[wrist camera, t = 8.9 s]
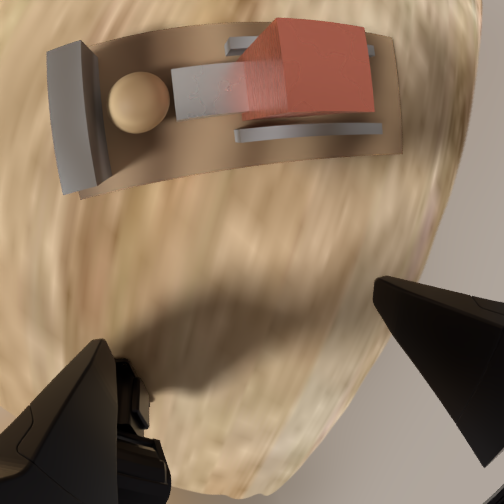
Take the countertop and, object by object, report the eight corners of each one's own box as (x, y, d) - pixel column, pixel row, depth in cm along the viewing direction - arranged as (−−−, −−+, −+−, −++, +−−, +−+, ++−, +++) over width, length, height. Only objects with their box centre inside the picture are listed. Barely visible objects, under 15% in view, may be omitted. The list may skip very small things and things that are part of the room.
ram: (177, 130, 17) (179, 124, 10) (170, 68, 15) (168, 23, 8) (302, 116, 18) (374, 112, 11) (295, 60, 17) (364, 27, 10)
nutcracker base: (85, 196, 18) (59, 215, 13) (67, 58, 14) (38, 39, 9) (393, 152, 23) (437, 160, 18) (383, 40, 19) (425, 28, 14)
